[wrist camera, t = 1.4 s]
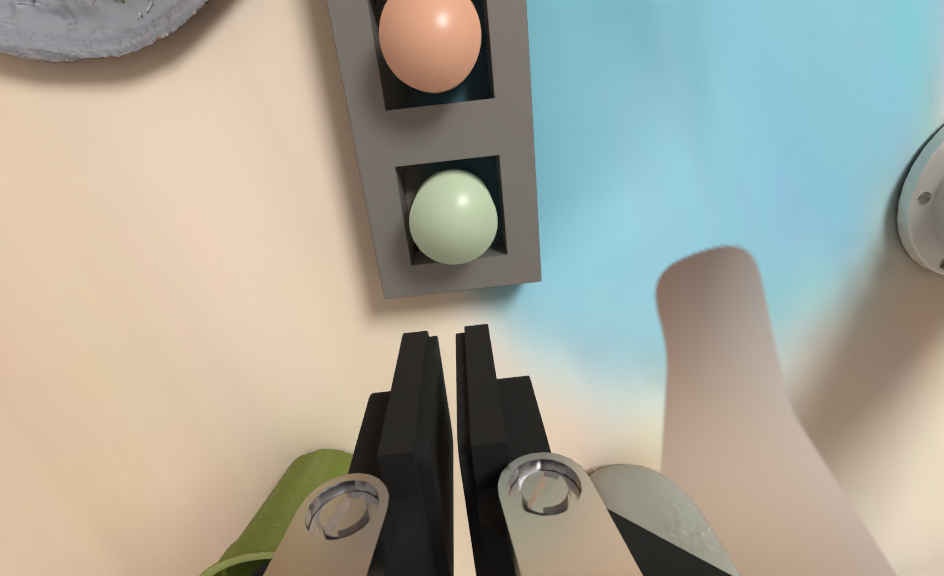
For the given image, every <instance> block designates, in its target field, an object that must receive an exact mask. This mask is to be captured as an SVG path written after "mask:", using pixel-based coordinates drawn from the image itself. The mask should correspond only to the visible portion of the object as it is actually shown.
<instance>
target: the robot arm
mask: <svg viewBox="0 0 944 576" xmlns="http://www.w3.org/2000/svg"><path fill="white" fill-rule="evenodd" d="M897 223H898V231H899V236H900V239H901V241H902V244H903V247H904V248H905V250H906V251H907V253H908V254H909V255H910V257H911V258H912V259H913V260H914V261H916V262H917V263H918V264H919V265H921V266H922V267H924V268H926V269H928V270H931V271H933V272H935V273H938V274H942V275H944V126H943V127H942V128H941V129H940V130H939V131H938V132H937V133H936V135H935V136H934V137H933V138H932V139H931V140H930V141H929V143H928V144H927V145H926V146H925V147H924V149H923V150H922V152H921V153H920V155H919V156H918V158H917V159H916V161H915V162H914V164H913V165H912V168H911V170H910V172H909V174H908V176H907V178H906V180H905V183H904V185H903V189H902V192H901V196H900V199H899V204H898V214H897ZM464 328H465V333H458V334H456V383H457V440H458V453H459V462H460V469H461V475H462V482H463V489H464V496H465V502H466V509H467V516H468V522H469V529H470V536H471V543H472V549H473V556H474V563H475V570H476V576H732V575H730V574H728V573H726V572H725V571H723V570H721V569H719V568H717V567H715V566H713V565H711V564H710V563H708V562H706V561H704V560H702V559H700V558H698V557H697V556H695V555H693V554H691V553H689V552H687V551H685V550H684V549H682V548H680V547H678V546H676V545H674V544H672V543H671V542H669V541H667V540H665V539H663V538H661V537H659V536H658V535H656V534H654V533H652V532H650V531H648V530H646V529H645V528H643V527H641V526H639V525H637V524H635V523H633V522H631V521H630V520H628V519H626V518H624V517H622V516H620V515H618V514H617V513H615V512H613V511H611V510H609V509H607V508H606V507H605V505H604V503H603V501H602V500H601V498H600V496H599V494H598V492H597V490H596V488H595V487H594V485H593V483H592V481H591V479H590V477H589V476H588V474H587V473H586V472H585V471H584V469H583V468H582V467H581V466H580V465H579V464H577V463H576V462H574V461H573V460H572V459H570V458H567V457H565V456H562V455H559V454H554V453H551V450H550V447H549V443H548V440H547V436H546V433H545V429H544V426H543V422H542V419H541V415H540V412H539V408H538V404H537V401H536V397H535V394H534V390H533V387H532V383H531V380H530V377H529V376H521V377H512V378H503V379H497V378H496V372H495V366H494V360H493V353H492V347H491V341H490V335H489V328H488V324H482V325H474V326H465V327H464ZM249 576H454V538H453V436H452V428H451V421H450V415H449V408H448V401H447V395H446V388H445V382H444V375H443V368H442V362H441V355H440V349H439V342H438V337H437V336H432V337H429V334H428V331H421V332H412V333H403V336H402V341H401V345H400V350H399V355H398V359H397V364H396V369H395V373H394V378H393V383H392V387H391V391H388V392H379V393H372V394H371V395H370V397H369V400H368V404H367V407H366V411H365V415H364V418H363V422H362V425H361V429H360V432H359V436H358V439H357V443H356V446H355V450H354V454H353V457H352V461H351V464H350V468H349V471H348V474H346V475H342V476H339V477H336V478H333V479H331V480H329V481H327V482H325V483H324V484H322V485H320V486H319V487H317V488H316V489H315V490H314V491H313V492H311V493H310V494H309V495H308V496H307V497H306V498H305V500H304V501H303V503H302V504H301V505H300V507H299V508H298V510H297V512H296V514H295V516H294V518H293V520H292V521H291V523H290V525H289V527H288V529H287V531H286V533H285V535H284V537H283V539H282V540H281V542H280V544H279V546H278V548H277V550H276V552H275V554H274V556H273V557H272V558H271V559H270V560H268V561H267V562H266V563H264V564H263V565H262V566H260V567H259V568H258V569H257V570H255V571H254V572H253V573H251V574H250V575H249Z"/></svg>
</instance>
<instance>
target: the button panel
mask: <svg viewBox="0 0 944 576" xmlns="http://www.w3.org/2000/svg"><path fill="white" fill-rule="evenodd" d="M482 2H483V14H484V26H485V38H486V49H487V61H488V73H489V85H490V97H491V99H483V100H474V101H466V102H457V103H448V104H439V105H431V106H422V107H413V108H405V109H396V110H392V106H391V100H390V93H389V87H388V81H387V75H386V68H385V62H384V56H383V53H382V50H381V46H380V40H379V25H378V18H377V12H376V6H375V0H327V3H328V9H329V14H330V19H331V24H332V29H333V35H334V40H335V45H336V50H337V55H338V60H339V66H340V71H341V76H342V81H343V86H344V91H345V97H346V102H347V107H348V112H349V117H350V122H351V128H352V133H353V138H354V143H355V148H356V154H357V159H358V164H359V169H360V174H361V179H362V185H363V190H364V195H365V200H366V205H367V210H368V216H369V221H370V226H371V231H372V236H373V241H374V247H375V252H376V257H377V262H378V267H379V273H380V278H381V283H382V288H383V293H384V298H385V299H390V298H399V297H407V296H416V295H425V294H434V293H443V292H451V291H460V290H469V289H478V288H487V287H495V286H504V285H513V284H522V283H531V282H539V281H541V263H540V245H539V226H538V208H537V189H536V170H535V152H534V133H533V115H532V96H531V78H530V59H529V41H528V22H527V3H526V0H482ZM494 155H495V156H496V168H497V179H498V191H499V203H500V215H501V227H502V238H503V241H502V242H493V243H491V245H490V246H489V248H488V249H487V250H486V251H485V252H484V253H483V254H482V255H481V256H479V257H478V258H476V259H474V260H472V261H470V262H467V263H463V264H456V265H451V264H444V263H440V262H437V261H435V260H433V259H431V258H429V257H428V256H426V255H425V254H424V253H423V252H422V251H415V250H414V244H413V238H412V235H411V231H410V226H409V212H408V206H407V200H406V194H405V187H404V181H403V175H402V169H401V166H406V165H415V164H424V163H433V162H441V161H450V160H459V159H467V158H476V157H485V156H494Z"/></svg>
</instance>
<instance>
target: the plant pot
mask: <svg viewBox="0 0 944 576" xmlns="http://www.w3.org/2000/svg"><path fill="white" fill-rule="evenodd" d="M352 457H353V455H351V454H348V453H346V452H343V451H338V450H332V449H322V450H318V451H316V452H313V453H310V454H307V455H302V456H300V457H299V458H297V459H296V460H295V461H294V462H293V463H292V465H291V466H290V467H289V469H288V470H287V471H286V473H285V474H284V476H283V477H282V478H281V480H280V481H279V483H278V484H277V486H276V487H275V488H274V490H273V491H272V493H271V494H270V495H269V497H268V498H267V500H266V501H265V502H264V504H263V505H262V507H261V508H260V509H259V511H258V512H257V514H256V515H255V516H254V518H253V519H252V521H251V522H250V523H249V525H248V526H247V528H246V529H245V530H244V532H243V533H242V535H241V536H240V537H239V539H238V540H236V541H235V542H234V543H233V544H232V545H231V546H230V547H229V548H228V549H227V551H226V552H225V553H224V555H223V556H222V557H221V559H220V560H219V561H218V563H216V564H214V565H212V566H211V567H209V568H208V569H206V570H205V571H204V572H203V573H202V574H201V575H200V576H249V575H250V574H251V573H253V572H254V571H255V570H257V569H258V568H259V567H260V566H262V565H263V564H264V563H266V562H267V561H268V560H270V559H271V558H272V557H273V556H274V554H275V552H276V550H277V548H278V546H279V544H280V542H281V540H282V539H283V537H284V535H285V533H286V531H287V529H288V527H289V525H290V523H291V521H292V520H293V518H294V516H295V514H296V512H297V510H298V508H299V507H300V505H301V504H302V503H303V501H304V500H305V498H306V497H307V496H308V495H309V494H310V493H311V492H313V491H314V490H315V489H316V488H317V487H319V486H320V485H322V484H324V483H325V482H327V481H329V480H331V479H333V478H336V477H339V476H342V475H346V474H348V471H349V468H350V464H351V461H352Z"/></svg>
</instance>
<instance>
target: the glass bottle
mask: <svg viewBox="0 0 944 576" xmlns="http://www.w3.org/2000/svg"><path fill="white" fill-rule="evenodd" d="M589 477H590V479H591V481H592V483H593V485H594V487H595V488H596V490H597V492H598V494H599V496H600V498H601V500H602V501H603V503H604V505H605V507H606V508H607V509H609V510H611V511H613V512H615V513H617V514H618V515H620V516H622V517H624V518H626V519H628V520H630V521H631V522H633V523H635V524H637V525H639V526H641V527H643V528H645V529H646V530H648V531H650V532H652V533H654V534H656V535H658V536H659V537H661V538H663V539H665V540H667V541H669V542H671V543H672V544H674V545H676V546H678V547H680V548H682V549H684V550H685V551H687V552H689V553H691V554H693V555H695V556H697V557H698V558H700V559H702V560H704V561H706V562H708V563H710V564H711V565H713V566H715V567H717V568H719V569H721V570H723V571H725V572H726V573H728V574H730V575H732V576H741V575H740V574H739V572H738V570H737V569H736V567H735V565H734V564H733V562H732V561H731V559H730V557H729V556H728V554H727V553H726V551H725V549H724V548H723V546H722V545H721V543H720V541H719V539H718V538H717V536H716V534H715V533H714V531H713V530H712V528H711V527H710V525H709V523H708V522H707V520H706V519H705V517H704V516H703V514H702V513H701V511H700V510H699V508H698V507H697V506H696V504H695V503H694V502H693V501H692V499H691V498H690V497H689V496H688V495H687V494H686V493H685V492H684V491H683V490H682V489H681V488H680V487H679V486H678V485H677V484H675V483H674V482H673V481H671V480H670V479H669V478H667V477H666V476H664V475H662V474H661V473H659V472H657V471H654V470H652V469H649V468H646V467H643V466H638V465H630V464H615V465H609V466H606V467H602V468H600V469H598V470H597V471H595V472H593V473H592V474H591V475H590V476H589Z"/></svg>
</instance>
